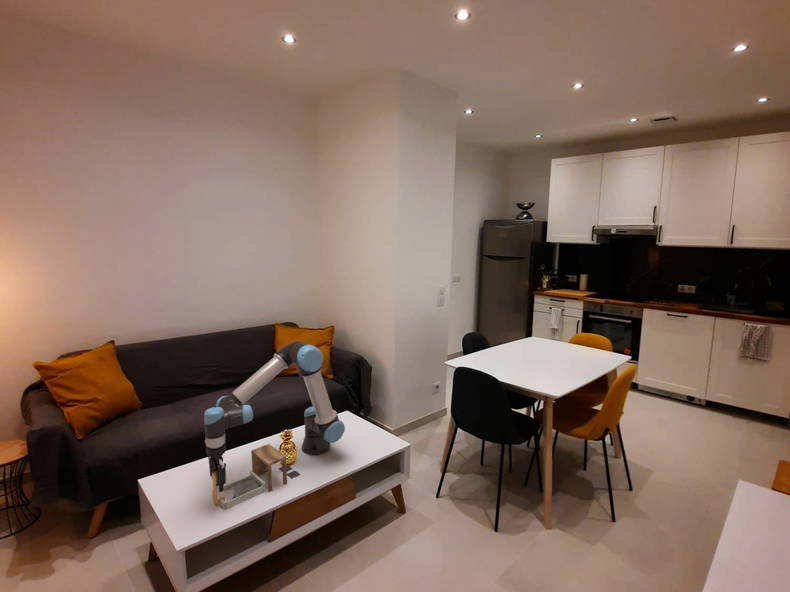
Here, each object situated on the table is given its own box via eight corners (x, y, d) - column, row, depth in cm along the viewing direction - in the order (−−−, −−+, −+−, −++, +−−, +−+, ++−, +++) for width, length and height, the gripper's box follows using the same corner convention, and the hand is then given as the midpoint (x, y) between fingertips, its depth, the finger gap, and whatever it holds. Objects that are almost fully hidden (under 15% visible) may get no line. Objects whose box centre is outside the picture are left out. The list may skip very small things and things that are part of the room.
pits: (287, 465, 209) (287, 464, 209) (300, 474, 200) (300, 474, 200) (278, 468, 205) (278, 468, 205) (291, 478, 197) (291, 478, 197)
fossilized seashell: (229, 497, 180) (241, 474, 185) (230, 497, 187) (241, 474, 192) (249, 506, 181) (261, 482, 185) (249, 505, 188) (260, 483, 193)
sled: (252, 478, 196) (251, 452, 194) (265, 490, 187) (264, 462, 185) (209, 497, 182) (207, 468, 180) (221, 510, 173) (219, 480, 171)
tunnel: (269, 469, 204) (268, 443, 202) (287, 483, 193) (286, 456, 191) (252, 477, 198) (251, 450, 196) (269, 492, 187) (268, 463, 185)
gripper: (199, 440, 178) (202, 490, 182) (214, 455, 166) (217, 508, 170) (216, 434, 183) (219, 483, 187) (232, 448, 172) (235, 500, 175)
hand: (218, 495), depth 178 cm, fingers closed on sled, 3 cm apart
